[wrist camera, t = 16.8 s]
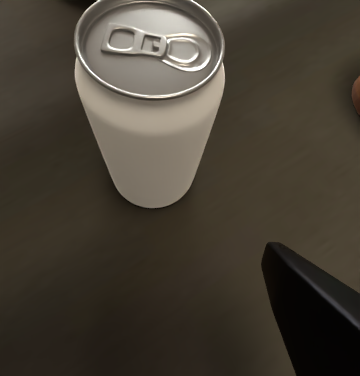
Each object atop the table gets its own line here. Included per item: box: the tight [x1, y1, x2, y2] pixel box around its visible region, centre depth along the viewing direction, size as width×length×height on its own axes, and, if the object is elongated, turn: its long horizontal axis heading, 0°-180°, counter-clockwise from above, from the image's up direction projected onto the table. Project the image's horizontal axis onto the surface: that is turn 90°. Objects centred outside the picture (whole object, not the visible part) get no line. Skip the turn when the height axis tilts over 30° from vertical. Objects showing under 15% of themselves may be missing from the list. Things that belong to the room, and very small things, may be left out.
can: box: [74, 0, 225, 208], centre depth 15 cm, size 6×6×12 cm
